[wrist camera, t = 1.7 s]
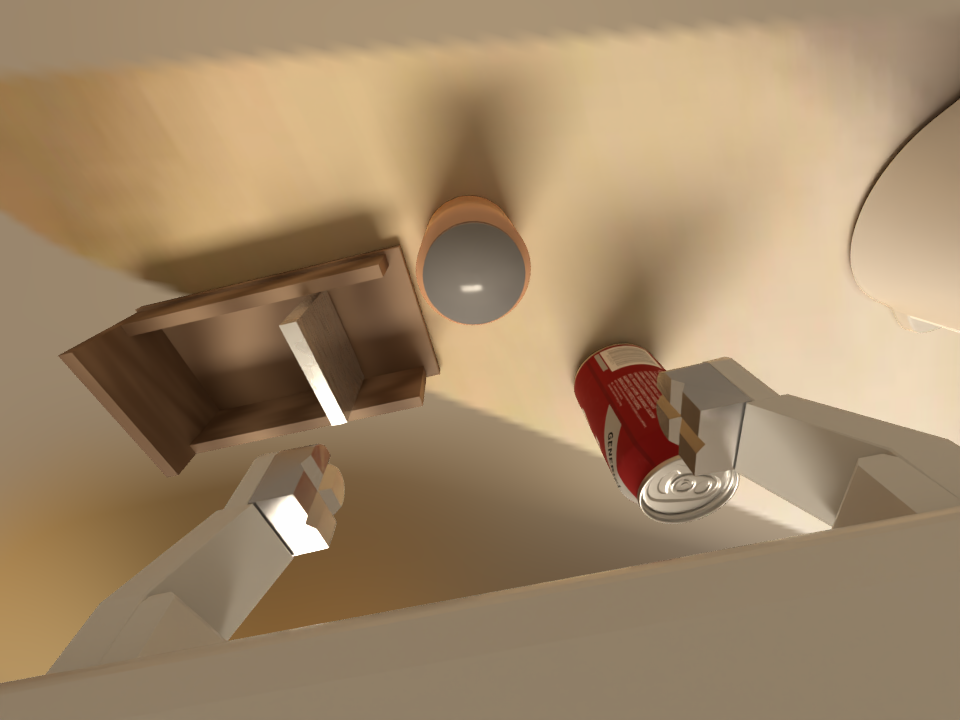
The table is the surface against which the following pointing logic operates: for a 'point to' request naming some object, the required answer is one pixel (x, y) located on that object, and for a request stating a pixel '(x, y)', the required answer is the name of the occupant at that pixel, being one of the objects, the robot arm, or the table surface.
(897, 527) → the robot arm
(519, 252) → the jar
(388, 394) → the tray
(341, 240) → the table surface
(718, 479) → the soda can
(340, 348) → the block
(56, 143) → the table surface
